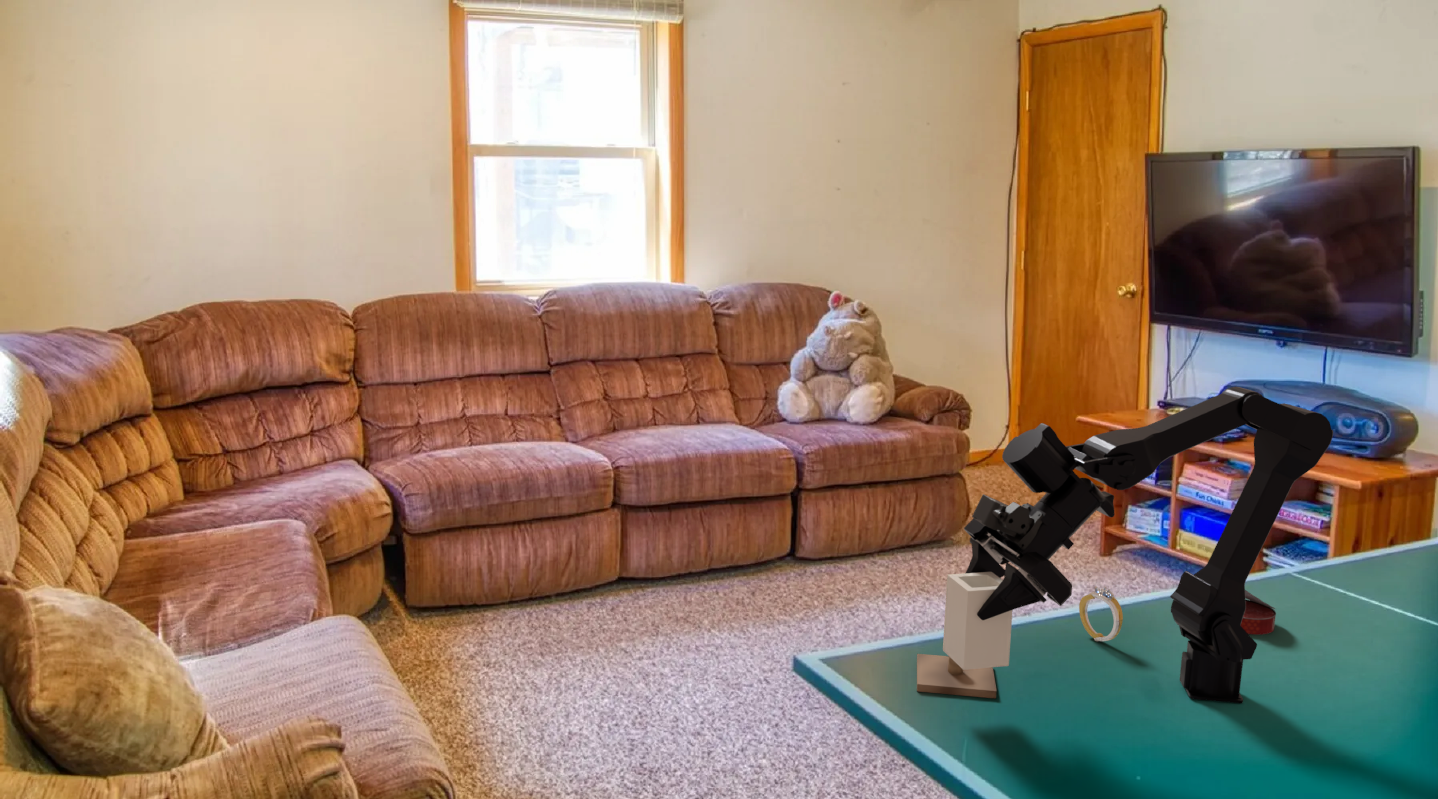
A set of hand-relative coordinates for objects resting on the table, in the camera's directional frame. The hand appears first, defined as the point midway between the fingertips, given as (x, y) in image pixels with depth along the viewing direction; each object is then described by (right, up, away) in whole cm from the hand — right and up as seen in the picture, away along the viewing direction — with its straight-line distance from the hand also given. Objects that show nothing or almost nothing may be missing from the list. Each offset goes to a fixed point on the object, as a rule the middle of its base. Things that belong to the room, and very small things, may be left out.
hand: (968, 608), depth 142 cm
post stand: (+1, -11, +12) cm, 16 cm away
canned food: (+49, -9, +34) cm, 60 cm away
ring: (+24, -10, +26) cm, 37 cm away
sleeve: (+1, -6, +1) cm, 7 cm away
